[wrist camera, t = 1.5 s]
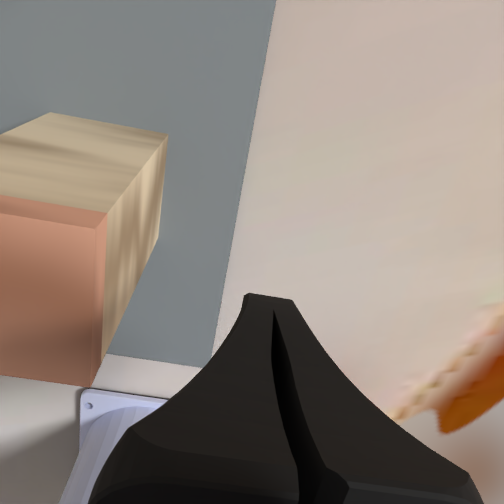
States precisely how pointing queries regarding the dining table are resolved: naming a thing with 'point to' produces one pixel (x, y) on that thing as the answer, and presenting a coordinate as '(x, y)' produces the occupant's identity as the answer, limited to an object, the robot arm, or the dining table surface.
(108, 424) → the robot arm
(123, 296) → the beech block
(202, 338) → the slate mat
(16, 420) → the dining table surface
